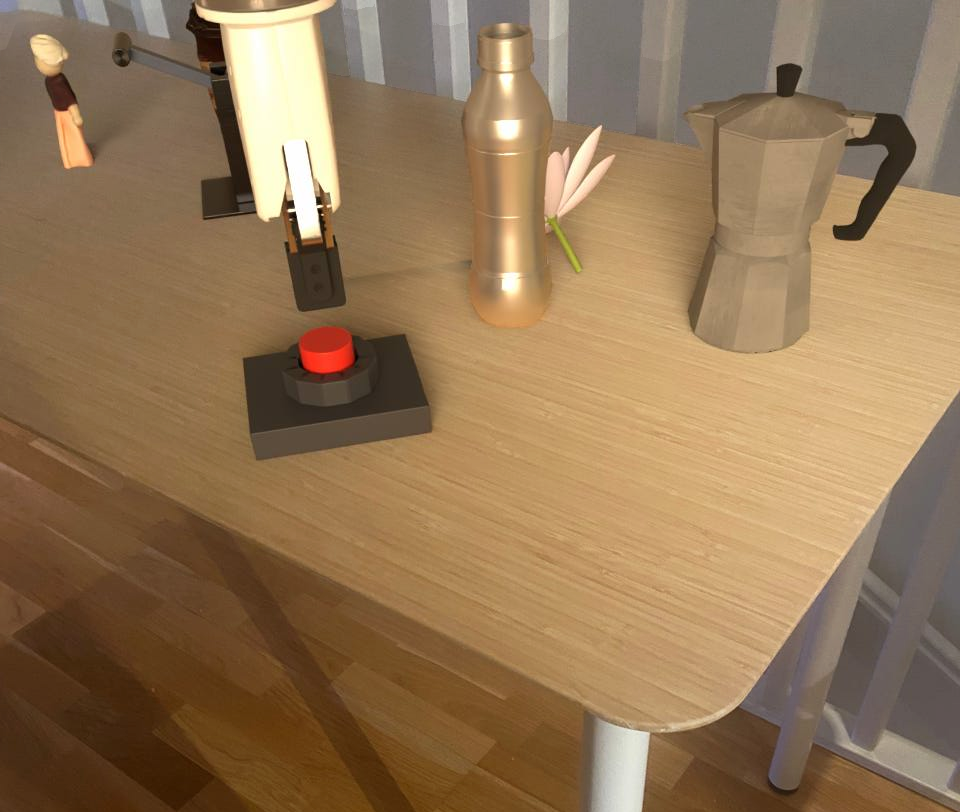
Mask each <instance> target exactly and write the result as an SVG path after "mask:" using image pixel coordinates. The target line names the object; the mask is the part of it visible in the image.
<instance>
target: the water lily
mask: <svg viewBox="0 0 960 812" xmlns="http://www.w3.org/2000/svg"><path fill="white" fill-rule="evenodd" d="M602 129H603V124H601V125H598V126H597V128H595V129H594V130H593V131H592V132H591V133H590V134H589V135H588V137H587V138H586V139H585V141H584V142H583V143H582V145H580V147H579V149H578V151H577V153H576V154H575V155H574V158H573V160H572V162H571V159H570V158H571V155H570V154H571V153H570V151H571V150H570V146H569V145H568V146H567V148H566V149H565V150H564V152H563V153H562V154H561V153H560V152H559V151H554V152H553V151H552V153H551V154H550V155H549V158H548V165H547V172H546V190H545V197H544V200H545V209H544V218H545V232H546V235H547V234H550V233H552V232H554V233H555V235H556V237H557V239H558V240H559V242H560V244H561V246H562V248H563V250H564V252H565V253H566V255H567V257H568V260H569V261H570V263H571V265H572V267H573V270H574V271H575V273H576V274H578V273H580V272H581V271H583V270H584V268H583V266H582V264H581V262H580V260H579V258H578V257H577V255H576V253H575V251H574V250H573V249H574V248H573V247H572V246H571V244H570V242H569V240H568V239H567V237H566V235H565V234H564V231H563V230H562V228H561V227H560V225H561V223H562V221H563V217H564V216H565V215H566V214H568V213H569V212H570V211H572V210H573V209H574V208H575V207H576V206H578V205H579V204H580V203H581V202H582V201H583V200H584V199H585V198H586V197H587V196H588V195H589V194H590V193H592V191H593V190H594V189H595V188H596V186H597V185H598V184H599V183H600V181H601V180H602V178H603V177H604V176H605V174H606V173H607V171H608V170H609V168H610V166H611V165H612V163H613V161H614V159H615V158H616V156H617V155H616V154H612V155H609V156H607V157H606V158H604V159H603V160H601V161H599V162H598V163H597V165H595V167H593V168H592V169H591V171H590V172H589V173H588V174H587V175H586V172H587V171H588V169H589V166H590V164H591V162H592V159H593V158H594V155H595V152H596V149H597V146H598V143H599V140H600V137H601V133H602ZM585 175H586V176H585ZM584 177H585V178H584ZM583 178H584V179H583ZM582 180H583V181H582Z"/></svg>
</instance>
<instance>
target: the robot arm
mask: <svg viewBox="0 0 960 812" xmlns="http://www.w3.org/2000/svg"><path fill="white" fill-rule="evenodd" d="M194 1H195V6H196V10H197V14H198V16H200V17H201V18H204V19H205V20H207V21H211V22H216V23H220V29H221V36H222V43H223V49H224V55H225V61H226V66H227V72H228V77H229V82H230V87H231V92H232V97H233V102H234V107H235V111H236V116H237V121H238V126H239V130H240V135H241V140H242V144H243V149H244V154H245V158H246V163H247V168H248V172H249V177H250V182H251V186H252V191H253V196H254V201H255V205H256V210H257V213H256V215H257V217H258V218H259V219H260V220H261V221H263V222H265V223H270V222H271V221H270V219H273V218H279V217H280V215H281V216H282V217H283V223H284V227H285V232H286V233H285V234H286V237H287V238H286V239H287V241H284V242H283V244H284V249H285V254H286V259H287V264H288V269H289V274H290V279H291V284H292V290H293V294H294V299H295V305H296V308H297V310H298V312H301V313H308V312H312V311H319V310H327V309H333V308H339V307H344V306H345V304H346V303H347V297H346V291H345V284H344V277H343V271H342V265H341V259H340V253H339V245H338V241H337V240H336V239H337V238H336V235H335V234H333V229H332V221H331V216H330V212H331V213H332V214H334V213H335V212H336V211H337V210H338V209H339V207H340V206H341V203H342V202H341V189H340V177H339V166H338V155H337V154H338V153H337V143H336V134H335V125H334V116H333V115H334V114H333V109H332V101H331V93H330V92H331V91H330V87H329V79H328V71H327V63H326V55H325V49H324V43H323V42H324V41H323V35H322V28H321V22H320V21H321V20H320V13H321V12H323V11H326V10H328V9H330V8H332V7H334V6H335V5H336V3H337V2H338V1H339V0H194ZM194 1H193V2H194Z"/></svg>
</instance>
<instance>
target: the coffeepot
mask: <svg viewBox="0 0 960 812" xmlns="http://www.w3.org/2000/svg"><path fill="white" fill-rule="evenodd" d="M775 68H776V73H775V74H776V75H775V77H776V91H775V92H752V93H751V92H750V93H741V94H739V95H737V96H734V97H732V98H730V99H728V100H722V101H721V100H720V101H711V102H701V104H693V105H691V106H690V107H688V108H687V109H686V110H685V111H684V112H683V114H682V116H681V119H682V120H684V121H686V122H687V123H688V124H689V126H690V128H691V129H692V132H693V134H694V135H695V137H696V139H697V142H698V144H699V146H700V148H701V151H702V153H703V155H704V158H705V161H706V163H707V165H708V168H709V170H710V174H711V206H712V207H711V208H712V212H713V214H714V217H715V225H714V230H713V234H712V235H711V236H710V237H709V240H708V243H707V247H706V250H705V252H704V253H705V254H704V256H703V259H702V262H701V266H700V269H699V273H698V277H697V280H696V283H695V286H694V290H693V292H692V296H691V300H690V303H689V306H688V309H687V313H688V317H689V324H690V328H691V330H692V332H693V334H694V336H696V337H698V338H699V339H700V340H702V341H703V342H704V343H706V344H709V346H710V345H711V346H713V347H715V348H718V349H721V350H724V351H729V352H734V353H741V352H742V353H741V354H746V353H745V352H748V353H747V354H756V353H755V352H766V353H770V352H769V351H772V352H775V351H774V350H777V351H781V350H783V348H784V349H786V347H787V348H788V346H789V347H791V346H792V345H795V344H796V343H797V342H798V341H799V340H800V339H801V338H802V336H803V335H805V334H806V333H808V332H809V331H810V313H811V310H810V309H811V282H812V281H811V279H812V247H811V243H810V240H809V239H810V234H811V229H812V226H813V225H814V224H815V223H817V222H818V221H820V219H821V217H822V213H823V212H824V208H825V206H826V202H827V200H828V197H829V195H830V192H831V189H832V186H833V184H834V181H835V178H836V175H837V174H838V170H839V167H840V164H841V161H842V158H843V156H844V154H845V150H846V147H865V146H873V145H877V146H878V145H879V146H884V147H885V148H886V151H887V152H888V153H887V156H886V157H885V158H884V159H883V161H882V162H881V163H880V165H879V167H878V168H877V172H876V174H875V177H874V180H873V182H872V184H871V186H870V188H869V190H868V191H867V192H866V193H865V195H864V196H863V197H862V198H861V200H860V203H859V205H858V208H857V212H856V217H855V219H854V220H853V222H851V223H849V224H843V225H841V224H840V225H837V224H833V225H832V235H833V238H834V239H835V240H839V241H845V242H846V241H847V242H856V241H857V242H859V241H861V240H863V239H864V238H865V237H866V235H867V234H868V232H869V231H870V229H871V227H872V226H873V225H874V222H876V219H877V218H878V216H879V214H880V213H881V211H882V210H883V208H884V206H885V205H886V203H887V202H888V200H890V197H891V196H892V194H893V193H894V191H895V189H896V188H897V186H898V184H899V183H900V181H901V180H902V178H903V177H904V175H905V174H906V172H908V169H909V168H910V167H911V165H912V163H913V161H914V160H915V157H916V152H917V148H918V147H917V142H916V140H915V138H914V136H913V135H912V132H911V131H910V129H909V127H908V126H907V124H906V122H905V121H904V119H903V118H902V116H901V115H899V114H897V113H886V112H875V111H870V110H869V111H868V110H857V109H849V110H848V109H847V108H846V107H845V105H844V104H843V102H842V101H841V102H840V101H837V100H832V99H828V98H825V97H820V96H815V95H812V94H807V93H803V92H799V91H796V89H797V86H798V85H799V84H798V83H799V81H800V79H801V75H802V73H803V70H804V69H803V67H802V66H801V65H799V64H797V63H792V62H787V63H782V64H780V65H778V66H776V67H775ZM790 345H791V346H790ZM750 352H751V353H750Z"/></svg>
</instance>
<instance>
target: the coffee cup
mask: <svg viewBox="0 0 960 812" xmlns="http://www.w3.org/2000/svg"><path fill="white" fill-rule="evenodd" d="M190 5H191V8H190V9H189V10H188V11H189V13H188V20H187V21H186V23H185V29H186V30H188V31H189V32H190V33H192V34H193V36H194V38H195V43H196V56H197V59H198V63H199V65H200V69H202V70H204V71H207V72H210V68H209V63H215V62H224V61H225V55H224V49H223V43H222V36H221V29H220V23H216V22H211V21H207V20H205V19H204V18H201V17H200V16H198V14H197V10H196V6H195V1H192V3H190ZM210 73H211V72H210ZM206 90H207V93H208V95H209V99H210V102H211V106H212V108H213V111H214V113H215V115H216V117H217V121H218V124H219V128H220V129H221V126H220V122H219V117H218V113H217V108H216V104H215V99H214V94H213V90H212V89H210V88H207V87H206ZM220 132H221V133H222V131H221V130H220Z"/></svg>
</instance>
